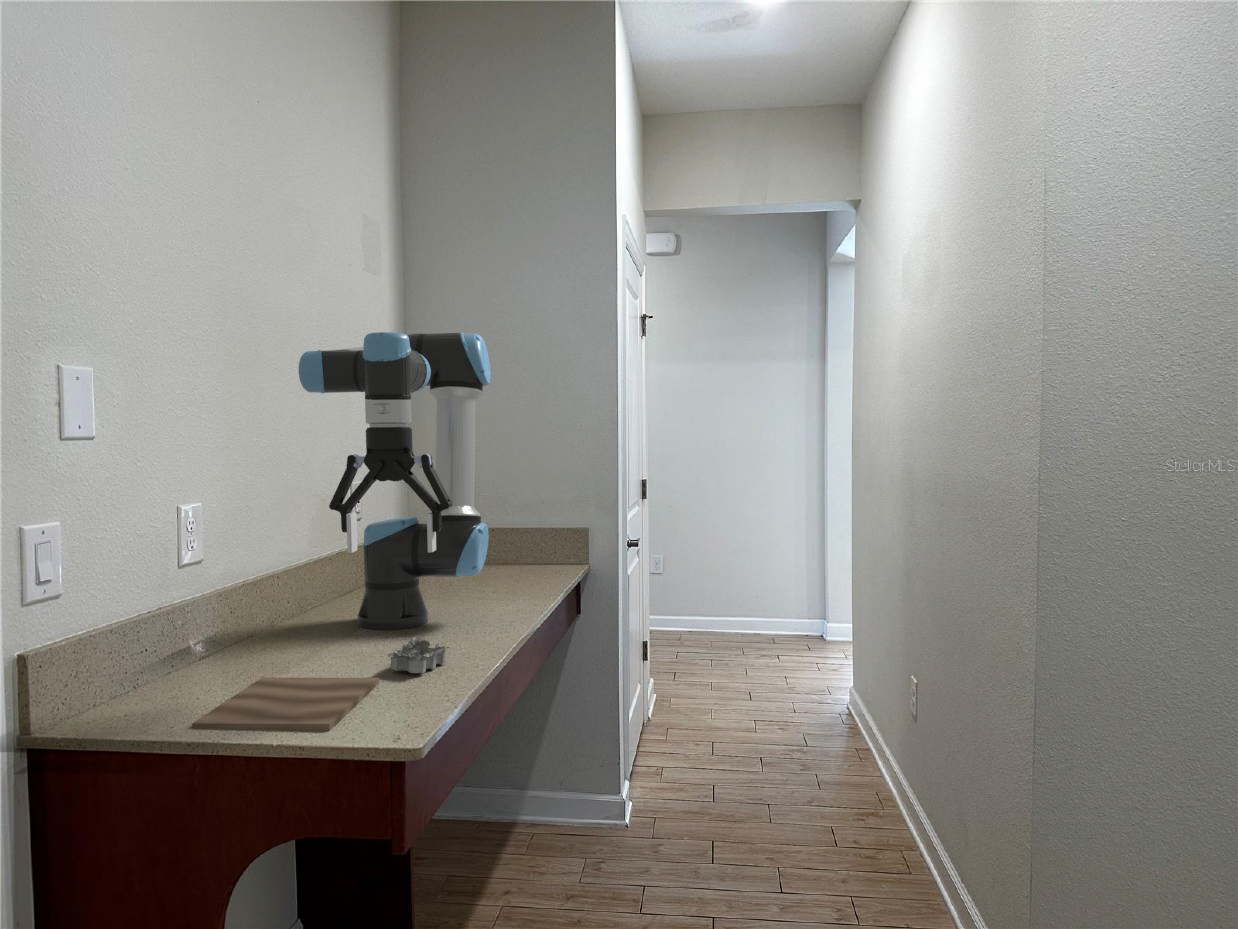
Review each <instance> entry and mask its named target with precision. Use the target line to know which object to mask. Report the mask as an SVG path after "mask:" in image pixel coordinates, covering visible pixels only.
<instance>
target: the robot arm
mask: <svg viewBox="0 0 1238 929" xmlns="http://www.w3.org/2000/svg"><path fill="white" fill-rule="evenodd" d="M486 345H487V344H486V342H485V340H484V338H483V337H482V336H481V335H480V334H479V333H471V332H470V333H469V332H468V333H466V332H463V331H460V332H445V333H440V332H439V333H410V334H406V333H401V332H393V331H392V332H391V331H387V332H385V331H383V332H378V331H377V332H371V333H367V334H366V335H365V336H364V338H363V346H361V347H352V348H341V349H334V350H333V349H332V350H321V349H318V350H309V351H308V350H307V351H305V352H303V353H302V355H301V356H300V357H299V362H298V379H299V381H300V384H301V387H303V389H304V391H306V392H308V393H318V394H319V393H321V394H329V393H332V394H333V393H359V392H360V393H364V410H365V411H364V412H365V423H366V424H367V425H369V427H366V429H365V447H366V448H365V449H366V454H365V455H364V456H361V455H358V454H349V455H348V456H347V458H346V466H345V470H344V473H343V474H342V476H341V479H340V481H339V483H338V485H337V488H336V490H335V492H334V494H333V496H332V499H331V501H330V502H329V505H328V508H329V509H330V510H331V511H336V512H338V513H339V514H340V525H341V526H340V527H341V532H342V533H346V542H347V543H346V544H347V554H349V553H350V554H351V553H352V554H353V553H355V552H357V551H358V526H357V525H358V524H357V523H358V522H357V520H358V519H357V517H358V516H357V512H352V511H353V509H354V508H355V507H356V505H357V504H358V503H359V501H360V500H361V499H362V498H363V496H364V495H365V494H366V493H368V490H370V488H371V487H372V486H373V484H374V483H375V482H377V481H379V482H387V481H390V482H400V481H404V482H405V484H407V485H408V486H409V488H410V489H411V490H413V492H414V493H415V494H416V495H417V497H418V498H419V499H420V500H421V501H422V502H423V503H424V504H425V506H427V508H428V509H429V510H430V512H428V513H426V523H420V520H419V518H418V517H417V516H407V517H406V516H404V517H399V518H398V517H397V518H392V519H391V518H390V519H386V520H379V521H375V522H373V523H369V524H367V526H366V527H365V528H364V531H363V544H362V548H363V569H364V570H363V571H364V574H363V575H364V593H363V597H362V599H361V603H360V606H359V610H358V613H357V617H356V621H357V622H356V623H357V626H358V627H359V628H361V629H365V630H368V631H369V630H370V631H400V630H401V631H402V630H408V629H414V628H418V627H422V626H424V625H426V624H428V622H429V611H428V608H427V605H426V602H425V600H424V596H423V594H422V591H421V588H420V578H421V577H423V578H445V577H446V578H461V577H462V578H463V577H474V576H476V575H479V573H481V571H482V569H483V568H484V565H485V562H486V558H487V554H488V548H489V539H490V536H489V526H488V525H487V523H485V522H482V516H481V514H480V513H479V511H478V510H476V508H475V474H476V473H475V470H476V469H475V468H476V466H475V465H476V462H475V461H476V410H477V409H476V403H477V400H478V399H480V397H481V396H482V395H483V393H484V392H483V389H484V388H483V386H484V387H486V386H488V385H490V383H491V376H492V374H491V373H492V372H491V364H490V358H489V353H488V348H487V346H486ZM427 386H428V387H429V393H430V394H431V396H433V398H434V399H435V400H436V408H435V409H436V412H435V415H436V416H435V418H436V419H435V420H436V421H435V461H434V462H435V467H434V463H433V457H432V454H430V453H425V454H422V455H415V454H414V452H413V429H412V428H411V426H409V424H411V423H412V422H413V416H412V411H413V410H412V393H415V392H418V391H421V390H422V389H424V388H425V387H427ZM363 464H364V465H365V466H366V468H367V469H368V470H369V471H368V472H367V474H365V476H364V477H363V479H362V481H361V482H360V483H359V484H358V486H357V487H356V488H355V489H354V491H353V492H352V493H351V494H350V496H349V497H348V498H347V499H346V496H347V495H348V493H349V490H350V488H351V485H352V484H353V482H354V480H355V477H356V475H357V473H358V470H359V469H360V468H361V467H362V466H363ZM415 464H417V465H418V467H419V468H421V469H422V470H423V473H424V475H425V477H426V479H427V481H428V483H429V485H430V487H431V489H432V491H433V492H434V496H433V495H432V493H431V492H430V491H429V490H428V488H426V486H424V484H423V483H422V482H421V481H420V480H419V479H418V476H416V474H415V473H414V472H413V471H412V469H413V467H414V465H415ZM345 499H346V500H345ZM344 501H345V502H344Z"/></svg>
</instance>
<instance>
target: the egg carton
mask: <svg viewBox="0 0 1238 929" xmlns="http://www.w3.org/2000/svg"><path fill="white" fill-rule="evenodd" d="M446 649H450V646H445V645H443V646H440V645H439V644H438V643H436V644H435V647H431V644H430V641H429V640H427V639H423V638H422V637H421V634H418V635H417V636H413V637H412V638H411V639H409V641H408V643H406V644H403V645H402V646H401V647H399V648H398V649H395V650H393V651H392V652H391V653H387V656H388V657H390V665H389V668H391V670H393V671H405V672H406V671H407V672H408V673H411V674H424V673H426V670H427V669H428V670H429V669H431V670H432V669H435V668H437V665H444V664H445V663H446V661H447V660H446V658H447V656H446V655H447V651H446Z"/></svg>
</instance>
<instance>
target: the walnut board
mask: <svg viewBox="0 0 1238 929" xmlns="http://www.w3.org/2000/svg"><path fill="white" fill-rule="evenodd" d="M378 685H380V678H379V677H261V678H259V679H257V680H256V681H254V682H252V684H250V685H248V686H247V687H245V688H244V689H243V690H241V691H239V692H238V693H236V694H234V695H233V696H232V697H230V698H229V699H227V700H226V701H224V702H223V703H221V704H219V705H218V706H216V707H214V708H213V709H212V710H210V711H209V712H207V713H206V714H204V715H203V716H201V717H200V718H198V719H196V720H194V722H192V723H191V725H192V726H191V729H217V730H218V729H222V730H223V729H224V730H226V729H227V730H262V731H263V730H264V731H265V730H267V731H268V730H269V731H273V730H274V731H307V732H309V731H310V732H311V731H315V732H316V731H317V732H318V731H319V732H321V731H322V732H323V731H324V732H330V731H331V730H333V729H334V728H335V726H337V725H338V724H339V723H340V722H341V721H342V720H343V719H344V718H346V716H347V715H348V714H349V713H351V711H353V710H354V709H355V708H356V707H357V705H359V703H361V702H362V701H363V700H364V699H365V698H366V697H367V696H368V695H369V694H370V693H371V692H372V691H374V689H375V688H376V687H377V686H378Z"/></svg>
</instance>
